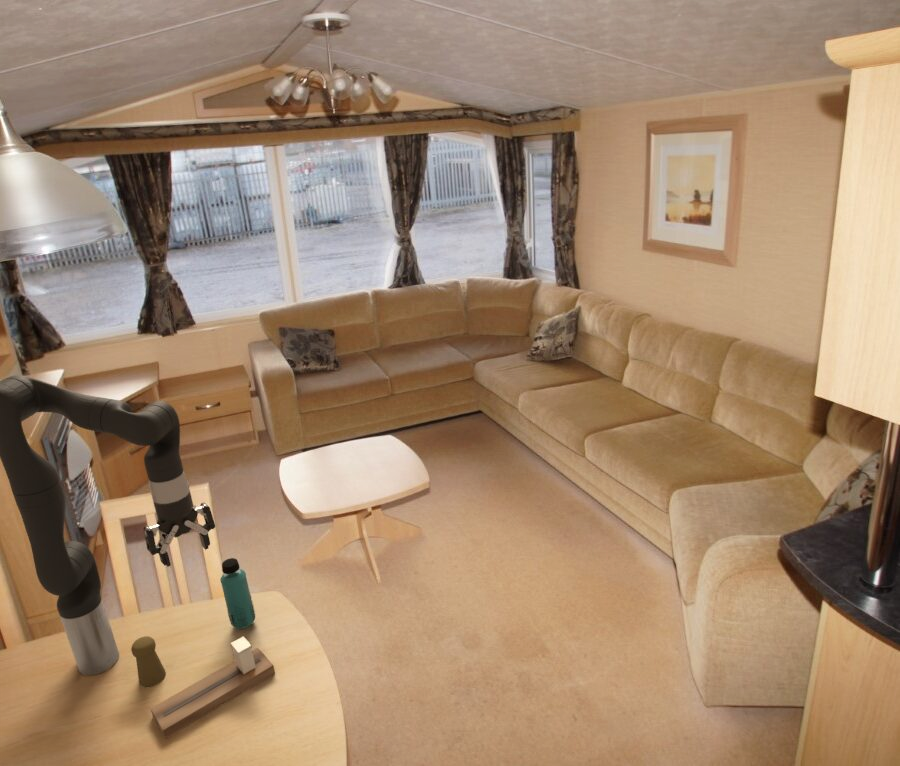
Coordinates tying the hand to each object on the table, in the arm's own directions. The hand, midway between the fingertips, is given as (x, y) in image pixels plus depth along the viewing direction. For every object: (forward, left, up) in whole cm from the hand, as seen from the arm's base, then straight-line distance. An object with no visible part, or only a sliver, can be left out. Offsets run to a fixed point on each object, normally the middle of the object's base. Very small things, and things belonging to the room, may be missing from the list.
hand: (186, 556), depth 152 cm
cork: (-9, -12, -33) cm, 37 cm away
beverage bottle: (-10, +12, -33) cm, 37 cm away
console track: (+7, -3, -33) cm, 34 cm away
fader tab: (+7, +5, -30) cm, 32 cm away
